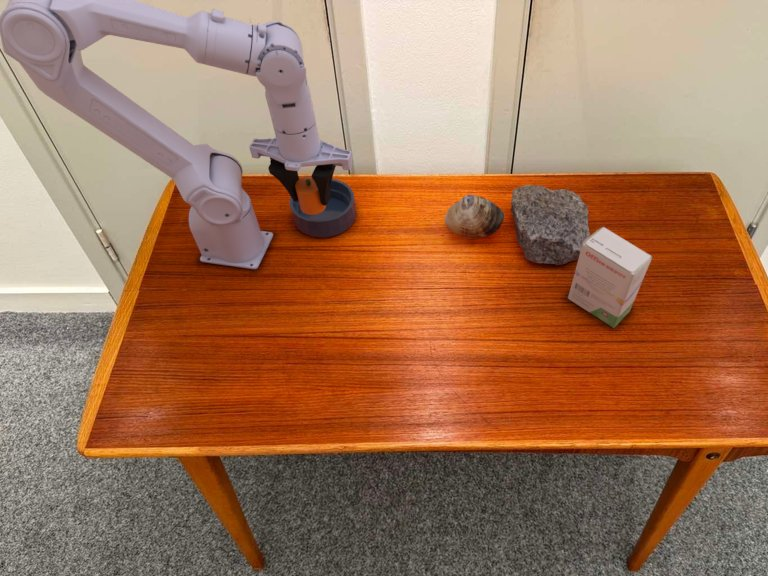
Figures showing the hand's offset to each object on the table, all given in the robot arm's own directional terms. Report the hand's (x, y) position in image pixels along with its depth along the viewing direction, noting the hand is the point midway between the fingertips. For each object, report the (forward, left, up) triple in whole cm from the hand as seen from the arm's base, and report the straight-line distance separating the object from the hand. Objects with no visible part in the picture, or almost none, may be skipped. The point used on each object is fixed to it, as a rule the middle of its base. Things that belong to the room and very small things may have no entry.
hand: (311, 199), depth 96 cm
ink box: (+45, -6, -9) cm, 47 cm away
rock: (+36, +7, -9) cm, 38 cm away
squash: (0, 0, -1) cm, 1 cm away
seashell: (+24, +5, -9) cm, 26 cm away
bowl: (-1, +5, -8) cm, 10 cm away
